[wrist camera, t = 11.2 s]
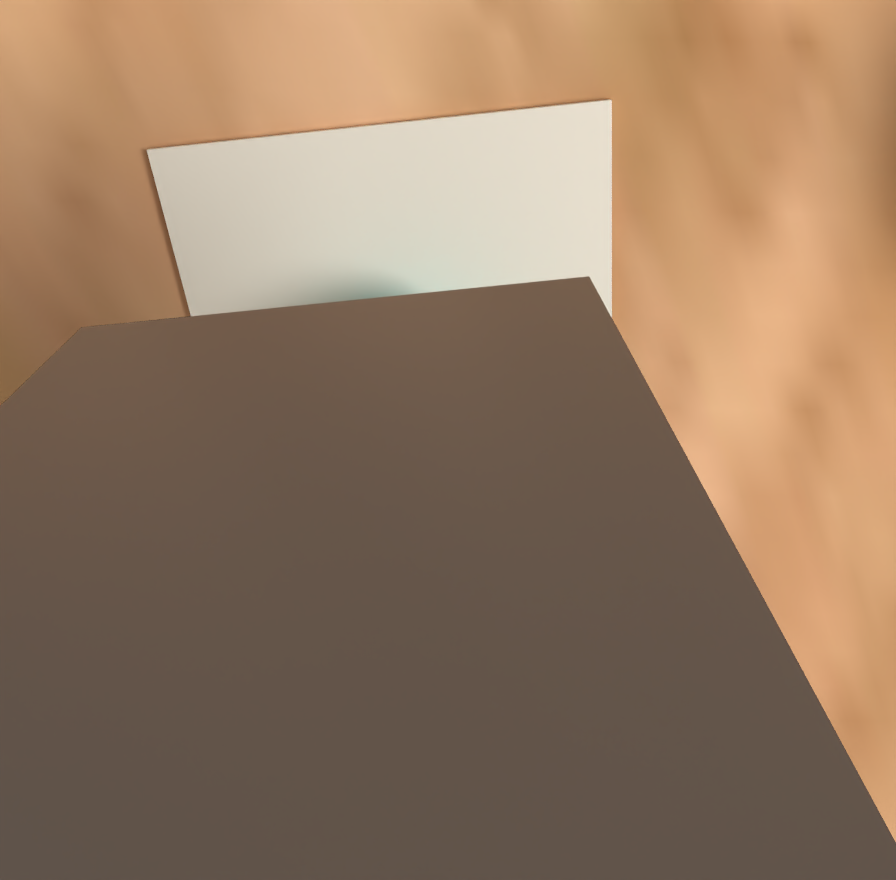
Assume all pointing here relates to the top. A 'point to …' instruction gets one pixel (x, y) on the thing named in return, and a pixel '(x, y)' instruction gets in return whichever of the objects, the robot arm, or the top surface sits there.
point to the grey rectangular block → (391, 613)
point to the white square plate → (392, 208)
